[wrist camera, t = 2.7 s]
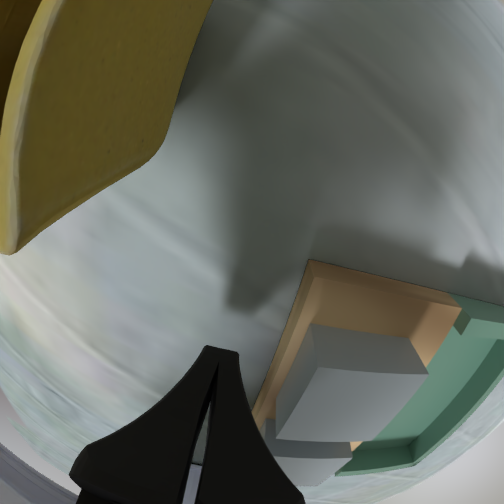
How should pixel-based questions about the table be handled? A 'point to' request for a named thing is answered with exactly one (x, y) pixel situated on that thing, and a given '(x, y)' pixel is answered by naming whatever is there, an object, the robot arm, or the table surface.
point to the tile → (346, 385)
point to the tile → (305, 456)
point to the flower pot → (83, 99)
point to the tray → (441, 392)
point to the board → (357, 319)
